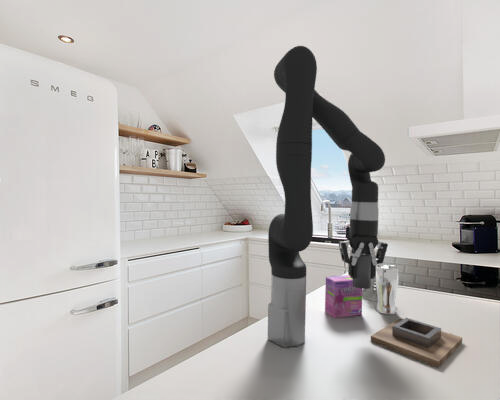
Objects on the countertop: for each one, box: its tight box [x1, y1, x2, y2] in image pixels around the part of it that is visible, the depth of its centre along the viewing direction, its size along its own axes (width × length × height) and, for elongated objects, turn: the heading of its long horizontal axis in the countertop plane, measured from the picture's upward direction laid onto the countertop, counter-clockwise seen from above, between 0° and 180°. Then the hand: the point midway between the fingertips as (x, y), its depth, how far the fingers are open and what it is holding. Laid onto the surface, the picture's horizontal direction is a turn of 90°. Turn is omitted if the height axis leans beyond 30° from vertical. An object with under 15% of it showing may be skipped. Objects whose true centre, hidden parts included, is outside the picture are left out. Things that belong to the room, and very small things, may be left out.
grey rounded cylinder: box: [353, 254, 372, 290], centre depth 86 cm, size 5×5×9 cm
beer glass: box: [375, 263, 399, 316], centre depth 101 cm, size 7×7×15 cm
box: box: [324, 274, 363, 319], centre depth 99 cm, size 10×6×12 cm, turn 105°
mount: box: [370, 317, 463, 369], centre depth 80 cm, size 18×16×4 cm
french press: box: [362, 263, 381, 302], centre depth 115 cm, size 10×12×25 cm
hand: (361, 277), depth 86 cm, fingers closed on grey rounded cylinder, 4 cm apart
